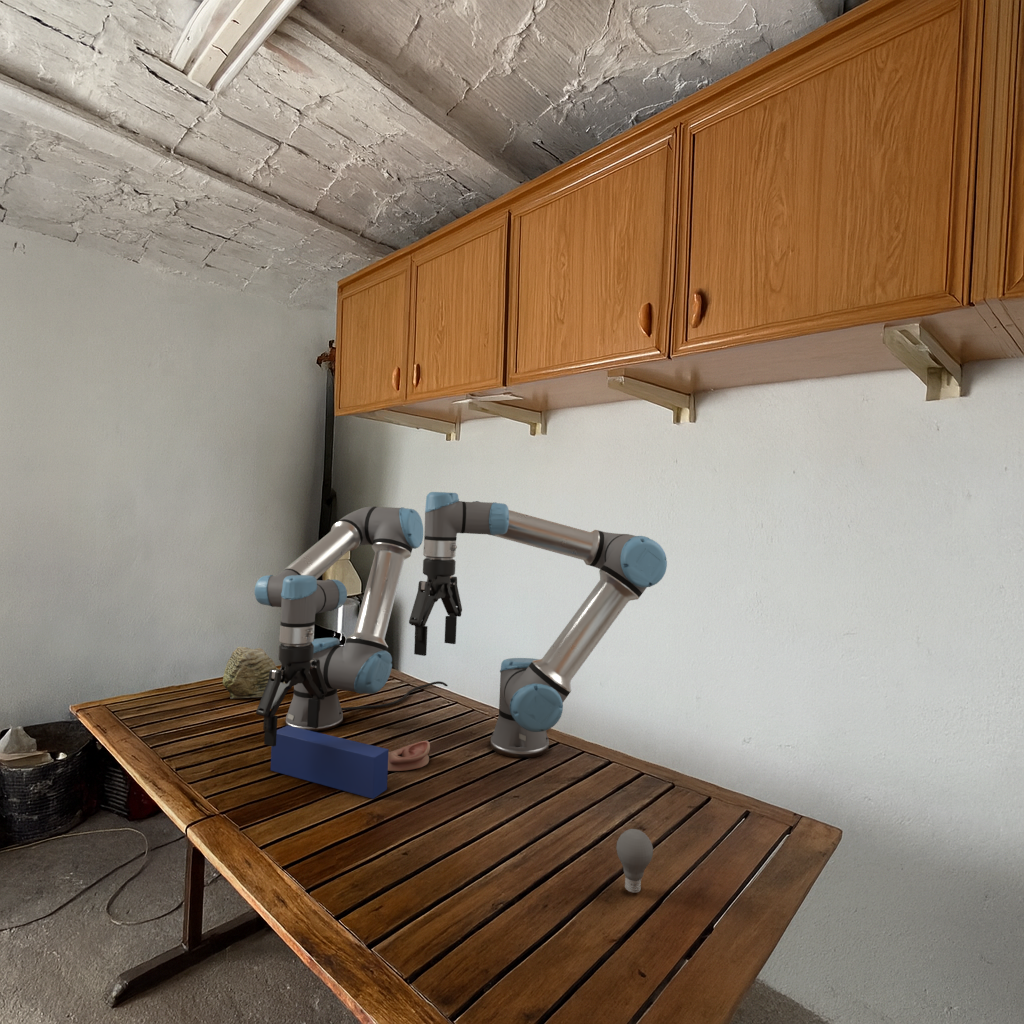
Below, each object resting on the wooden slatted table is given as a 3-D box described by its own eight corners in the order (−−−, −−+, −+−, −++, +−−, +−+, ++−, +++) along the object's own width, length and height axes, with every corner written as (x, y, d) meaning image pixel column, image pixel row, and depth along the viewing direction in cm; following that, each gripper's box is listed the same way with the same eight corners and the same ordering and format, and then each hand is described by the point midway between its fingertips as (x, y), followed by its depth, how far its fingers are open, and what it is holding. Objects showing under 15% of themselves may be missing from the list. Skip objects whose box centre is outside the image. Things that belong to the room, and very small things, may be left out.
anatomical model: (365, 751, 148) (384, 733, 160) (364, 767, 148) (384, 749, 160) (419, 758, 146) (435, 740, 157) (418, 775, 146) (434, 756, 157)
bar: (270, 770, 145) (271, 732, 145) (286, 762, 150) (287, 725, 150) (373, 799, 134) (374, 757, 134) (387, 789, 138) (388, 749, 138)
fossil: (218, 695, 195) (220, 647, 195) (278, 685, 208) (279, 640, 207) (228, 703, 189) (230, 653, 188) (289, 692, 201) (290, 645, 201)
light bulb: (610, 879, 108) (613, 822, 108) (644, 879, 109) (647, 822, 109) (619, 902, 102) (622, 840, 102) (655, 901, 103) (658, 840, 103)
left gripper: (268, 655, 132) (263, 757, 132) (344, 636, 155) (340, 722, 155) (241, 651, 135) (236, 749, 136) (320, 632, 158) (316, 717, 158)
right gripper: (425, 563, 135) (421, 662, 135) (478, 556, 157) (474, 640, 158) (395, 560, 138) (391, 657, 138) (451, 553, 160) (448, 637, 161)
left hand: (292, 735), depth 145 cm, fingers open, 13 cm apart
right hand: (435, 648), depth 148 cm, fingers open, 13 cm apart
